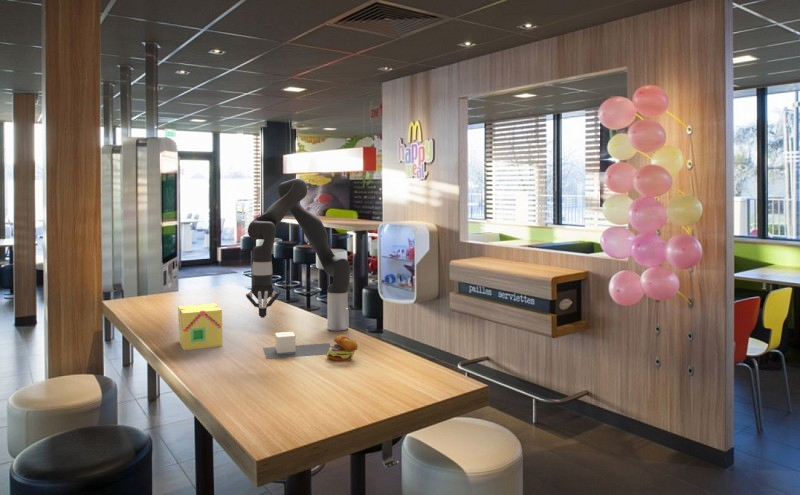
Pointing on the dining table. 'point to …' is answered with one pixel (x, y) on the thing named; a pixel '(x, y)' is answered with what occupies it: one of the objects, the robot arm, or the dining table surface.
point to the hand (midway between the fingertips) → (262, 317)
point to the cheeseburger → (342, 349)
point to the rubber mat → (299, 351)
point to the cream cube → (285, 343)
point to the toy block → (200, 326)
